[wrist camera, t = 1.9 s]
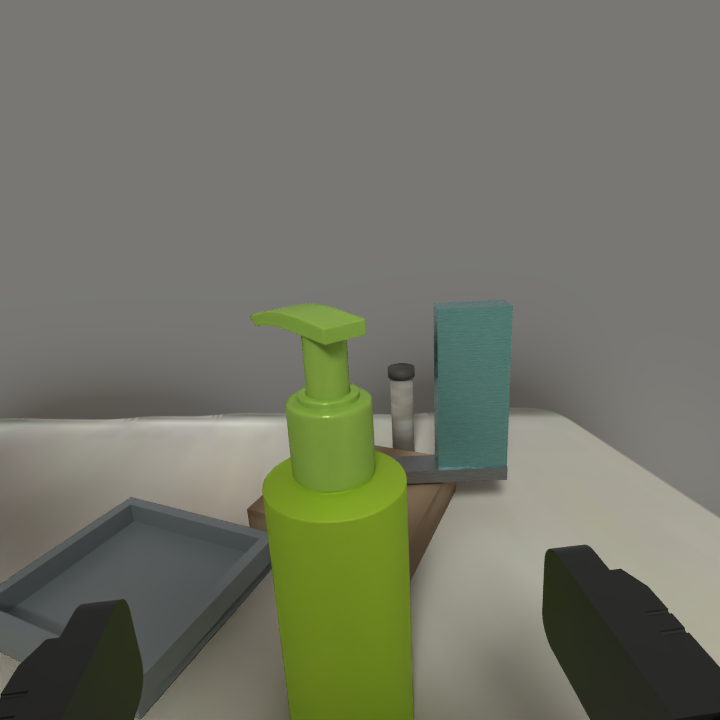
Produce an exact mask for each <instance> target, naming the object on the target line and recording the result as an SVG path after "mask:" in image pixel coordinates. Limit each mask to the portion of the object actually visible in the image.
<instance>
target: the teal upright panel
mask: <svg viewBox="0 0 720 720" xmlns="http://www.w3.org/2000/svg"><path fill="white" fill-rule="evenodd" d="M512 308H513V307H512V305H511V304H510V303H508V302H507V301H506V300H492V301H472V302H452V303H434V392H435V393H434V400H435V455H420V456H397V457H392V458H393V459H395V460H396V461H397V462H398V463H399V464H400V465H401V466H402V467H403V469H404V471H405V473H406V477H407V484H414V483H438V482H461V481H485V480H507V444H508V417H509V390H510V362H511V336H512Z"/></svg>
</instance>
